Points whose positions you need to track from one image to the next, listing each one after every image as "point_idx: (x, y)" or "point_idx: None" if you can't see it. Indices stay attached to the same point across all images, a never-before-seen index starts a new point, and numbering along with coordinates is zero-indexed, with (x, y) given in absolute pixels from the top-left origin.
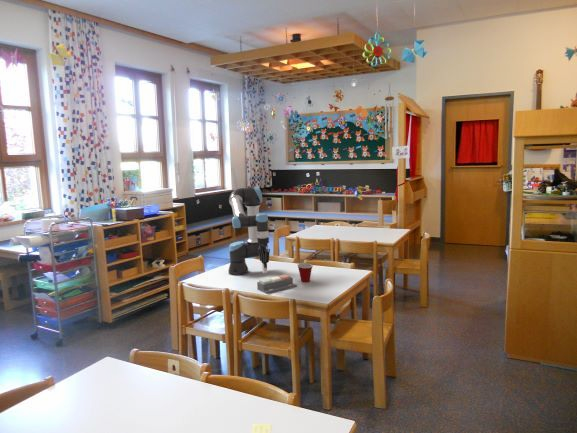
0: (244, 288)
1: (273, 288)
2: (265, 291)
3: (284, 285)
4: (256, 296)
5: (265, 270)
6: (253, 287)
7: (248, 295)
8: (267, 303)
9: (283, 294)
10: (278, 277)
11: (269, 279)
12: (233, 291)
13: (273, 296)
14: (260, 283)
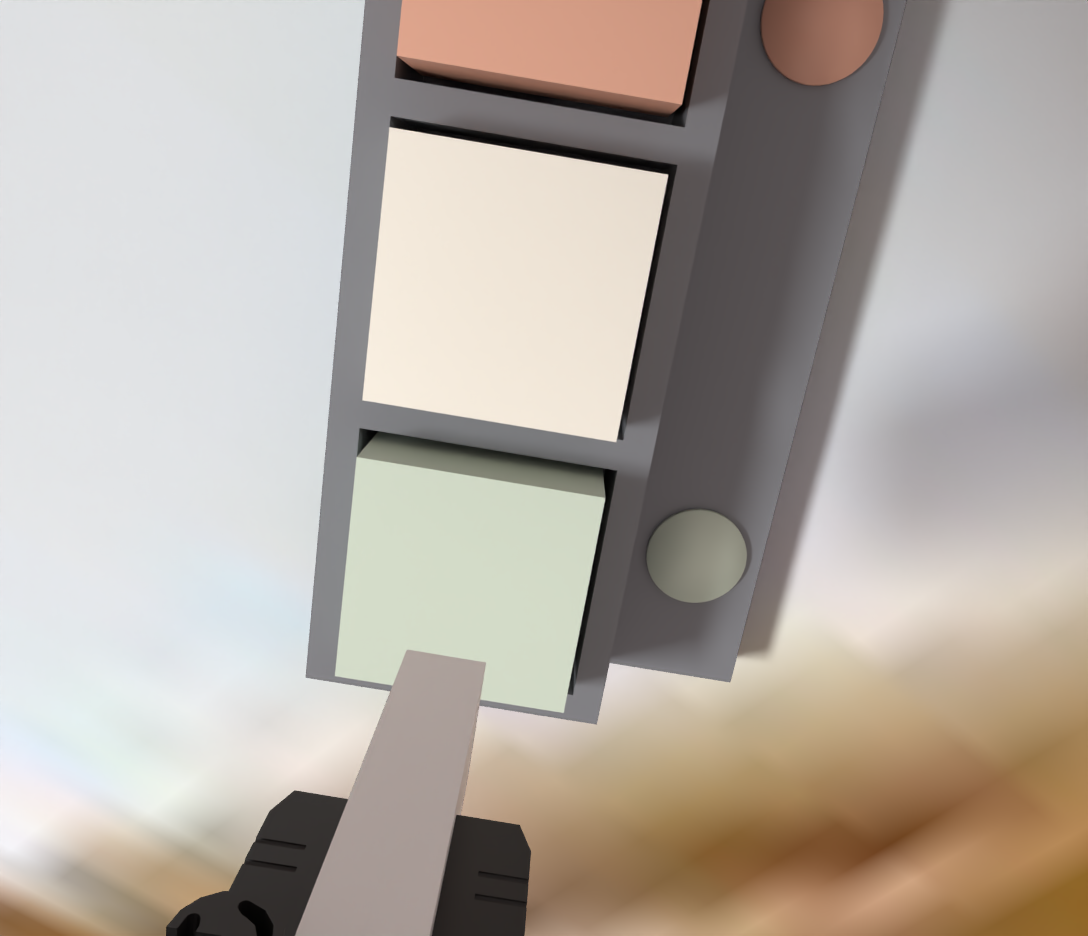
0: (113, 704)
1: (676, 464)
2: (671, 669)
3: (724, 139)
4: (662, 836)
5: (466, 772)
6: (180, 567)
7: None
8: (1078, 930)
9: (1017, 480)
10: (543, 174)
11: (490, 478)
12: (133, 901)
13: (923, 669)
14: None
